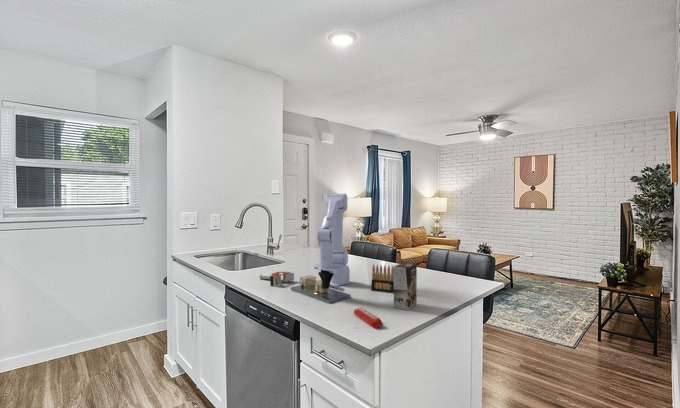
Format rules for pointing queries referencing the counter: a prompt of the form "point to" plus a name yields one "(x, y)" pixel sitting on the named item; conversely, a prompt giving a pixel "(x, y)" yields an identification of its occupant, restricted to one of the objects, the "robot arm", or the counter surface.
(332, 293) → the bolt plate
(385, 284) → the ammunition clip
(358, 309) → the candy bar
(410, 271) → the coffee box
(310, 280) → the trammel beam
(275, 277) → the tape dispenser
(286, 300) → the counter surface
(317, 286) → the trammel slider
